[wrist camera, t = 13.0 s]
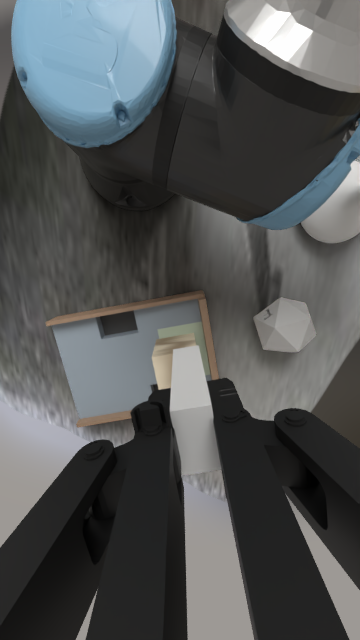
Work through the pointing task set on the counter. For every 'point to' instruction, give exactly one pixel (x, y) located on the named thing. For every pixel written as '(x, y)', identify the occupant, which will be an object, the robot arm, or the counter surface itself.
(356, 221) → the flower in vase
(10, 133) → the counter surface
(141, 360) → the box
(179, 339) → the block
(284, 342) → the die
